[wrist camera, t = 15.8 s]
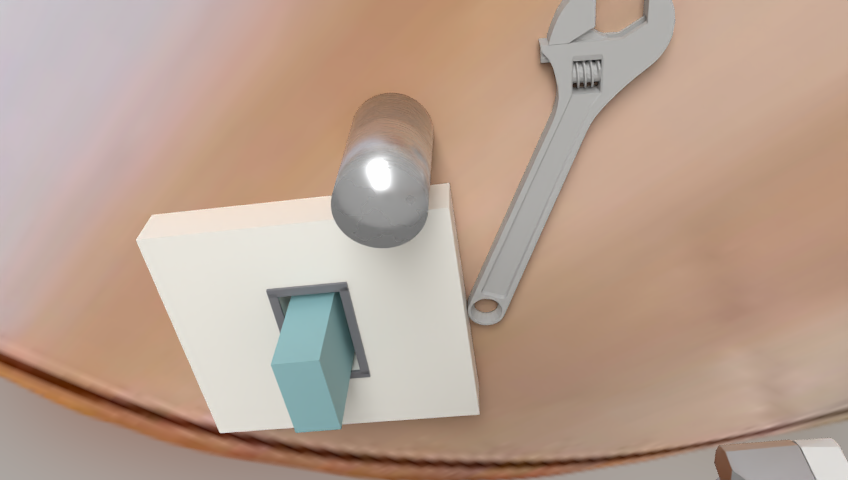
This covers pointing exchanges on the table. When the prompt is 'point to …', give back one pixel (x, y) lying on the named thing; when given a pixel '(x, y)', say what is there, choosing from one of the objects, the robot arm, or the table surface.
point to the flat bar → (314, 361)
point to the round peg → (385, 172)
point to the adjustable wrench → (566, 129)
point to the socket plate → (311, 274)
